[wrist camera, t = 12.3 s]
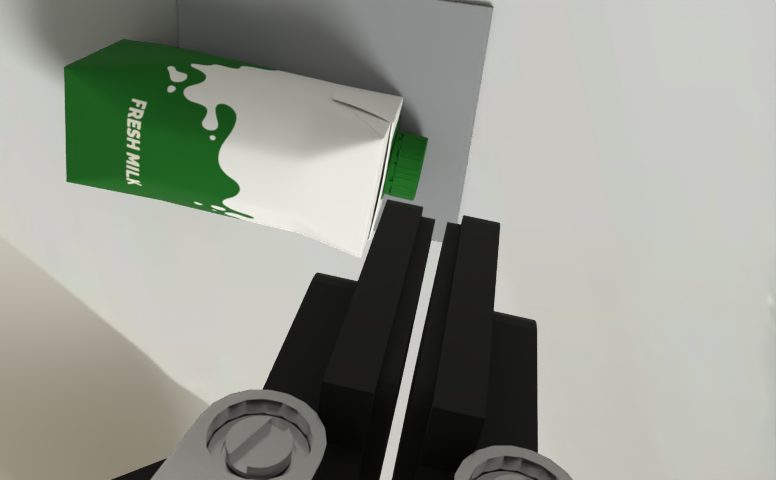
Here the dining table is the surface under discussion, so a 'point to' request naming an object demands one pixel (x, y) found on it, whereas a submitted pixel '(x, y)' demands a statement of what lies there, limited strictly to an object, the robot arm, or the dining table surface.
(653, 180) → the dining table surface
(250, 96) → the white and green box
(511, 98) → the dining table surface
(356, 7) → the placemat
